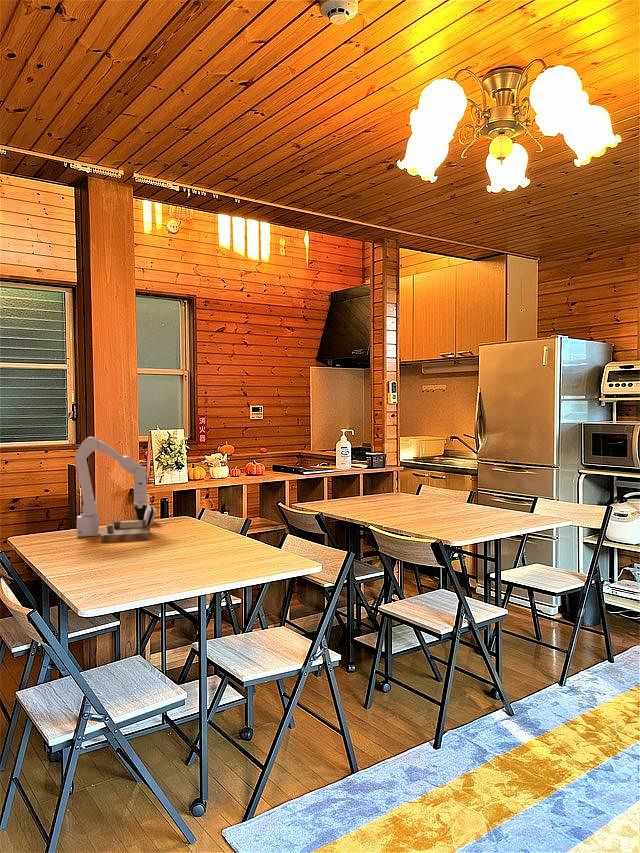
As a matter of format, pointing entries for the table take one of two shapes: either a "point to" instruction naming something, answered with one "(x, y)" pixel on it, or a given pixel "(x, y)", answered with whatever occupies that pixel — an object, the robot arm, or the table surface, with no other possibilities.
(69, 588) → the table surface
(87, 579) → the table surface
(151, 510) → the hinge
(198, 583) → the table surface
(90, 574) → the table surface
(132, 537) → the grey flat base
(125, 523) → the folding leg
